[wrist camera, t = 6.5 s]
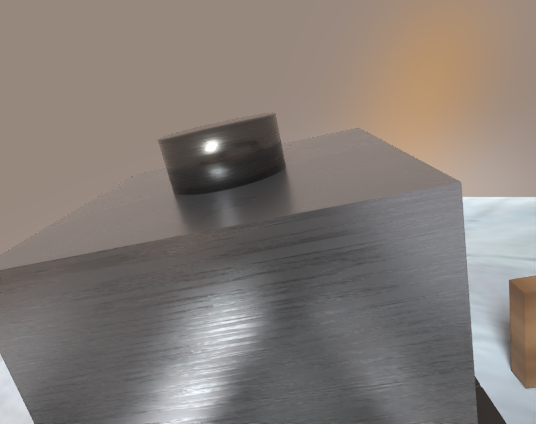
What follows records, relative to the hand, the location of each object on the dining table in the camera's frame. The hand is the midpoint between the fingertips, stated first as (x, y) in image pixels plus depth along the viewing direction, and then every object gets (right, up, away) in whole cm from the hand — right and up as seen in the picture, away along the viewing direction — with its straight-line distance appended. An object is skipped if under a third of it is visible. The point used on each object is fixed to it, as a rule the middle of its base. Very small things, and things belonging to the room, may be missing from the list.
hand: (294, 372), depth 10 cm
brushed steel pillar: (+2, -8, 0) cm, 8 cm away
